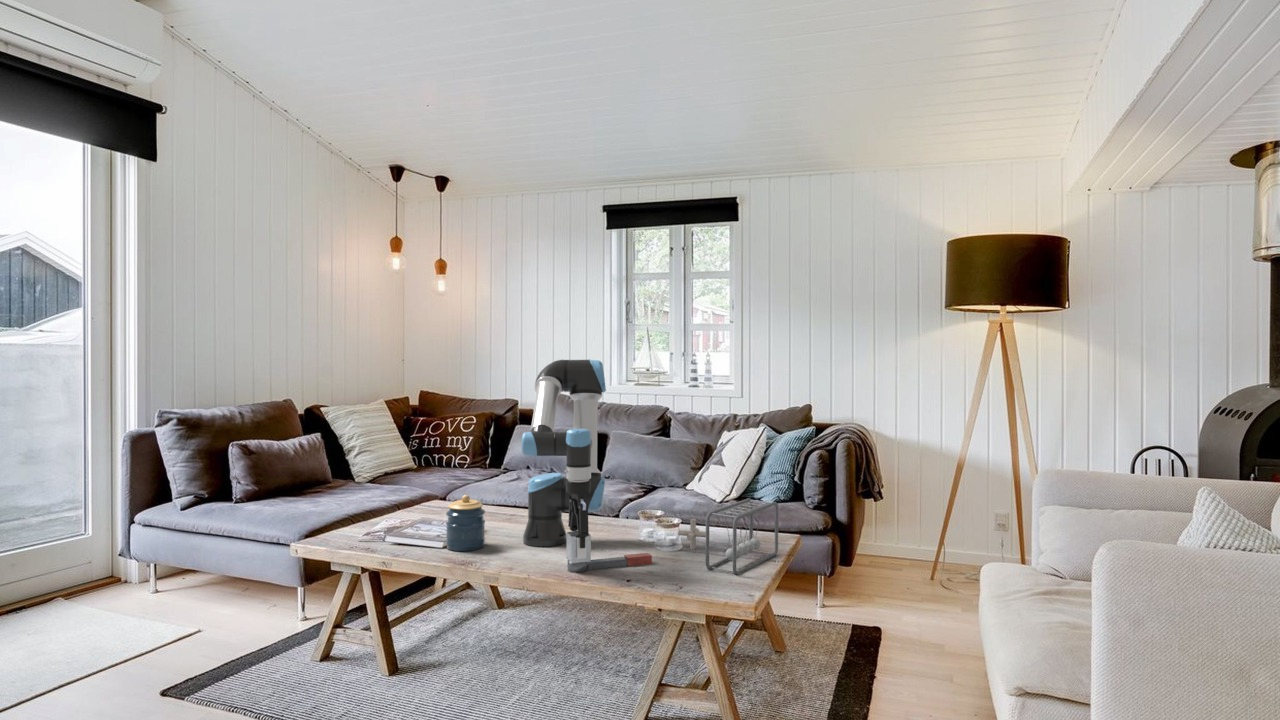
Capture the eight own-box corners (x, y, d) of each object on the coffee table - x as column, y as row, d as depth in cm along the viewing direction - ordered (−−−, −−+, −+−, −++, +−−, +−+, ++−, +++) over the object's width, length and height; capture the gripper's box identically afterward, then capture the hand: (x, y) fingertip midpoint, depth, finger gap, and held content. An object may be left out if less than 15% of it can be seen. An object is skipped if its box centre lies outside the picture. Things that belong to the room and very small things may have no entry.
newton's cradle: (750, 549, 249) (750, 497, 248) (778, 554, 242) (779, 500, 242) (704, 570, 224) (705, 512, 224) (735, 577, 218) (735, 517, 218)
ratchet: (565, 567, 226) (565, 543, 226) (646, 559, 235) (646, 536, 235) (570, 573, 220) (570, 548, 220) (653, 565, 229) (653, 541, 229)
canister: (487, 541, 257) (487, 491, 256) (481, 551, 244) (482, 498, 243) (450, 542, 256) (450, 491, 256) (442, 552, 243) (442, 499, 243)
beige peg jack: (682, 543, 255) (682, 515, 255) (710, 546, 252) (710, 517, 252) (674, 551, 245) (675, 521, 245) (704, 554, 242) (704, 523, 242)
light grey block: (585, 556, 228) (585, 530, 228) (590, 561, 222) (590, 535, 222) (566, 558, 226) (566, 532, 226) (571, 563, 220) (571, 536, 220)
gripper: (558, 475, 232) (558, 548, 232) (575, 486, 213) (574, 565, 214) (581, 474, 234) (581, 545, 235) (599, 484, 216) (599, 562, 216)
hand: (578, 554), depth 224 cm, fingers open, 7 cm apart
